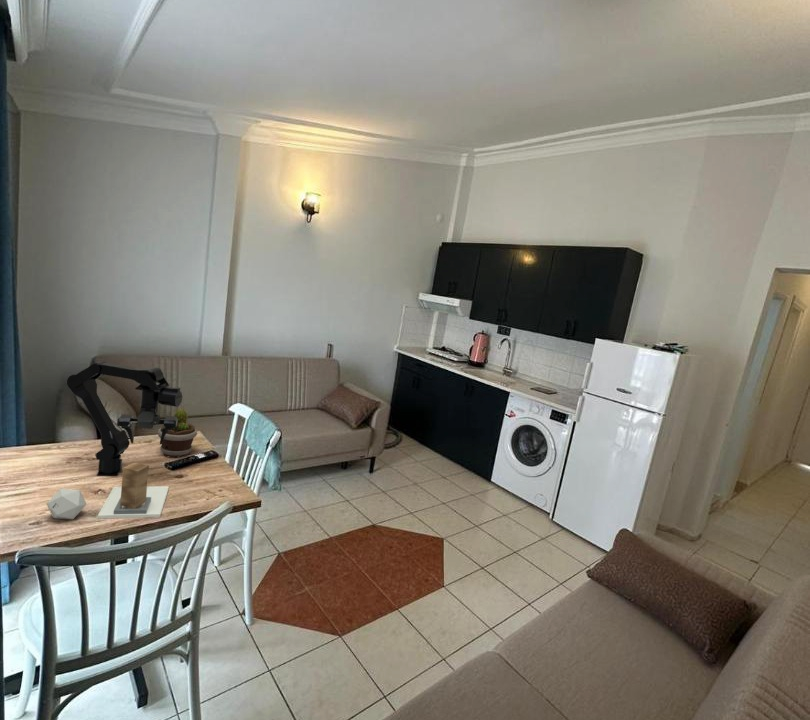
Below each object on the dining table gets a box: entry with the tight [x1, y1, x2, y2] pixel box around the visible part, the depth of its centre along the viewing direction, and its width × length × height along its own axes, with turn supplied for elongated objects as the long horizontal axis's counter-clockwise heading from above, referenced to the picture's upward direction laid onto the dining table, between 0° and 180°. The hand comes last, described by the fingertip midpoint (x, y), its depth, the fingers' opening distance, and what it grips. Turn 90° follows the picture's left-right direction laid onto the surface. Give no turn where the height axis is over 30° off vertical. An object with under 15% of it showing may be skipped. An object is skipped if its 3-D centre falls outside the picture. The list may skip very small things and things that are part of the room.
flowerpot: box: [157, 406, 198, 458], centre depth 193 cm, size 14×15×20 cm
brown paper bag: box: [120, 462, 150, 509], centre depth 146 cm, size 5×5×12 cm
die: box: [46, 488, 87, 520], centre depth 138 cm, size 8×9×10 cm
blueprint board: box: [96, 485, 170, 520], centre depth 152 cm, size 17×20×2 cm
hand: (146, 443), depth 168 cm, fingers open, 9 cm apart
